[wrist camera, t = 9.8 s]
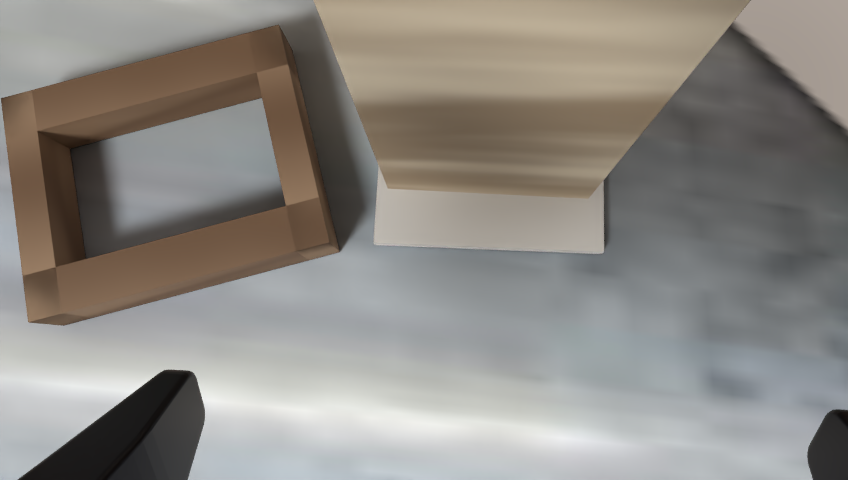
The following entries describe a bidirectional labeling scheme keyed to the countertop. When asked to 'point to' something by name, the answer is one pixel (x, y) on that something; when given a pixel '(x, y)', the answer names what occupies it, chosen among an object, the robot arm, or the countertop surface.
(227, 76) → the walnut rack
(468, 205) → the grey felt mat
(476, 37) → the tan wooden block
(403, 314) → the countertop surface
